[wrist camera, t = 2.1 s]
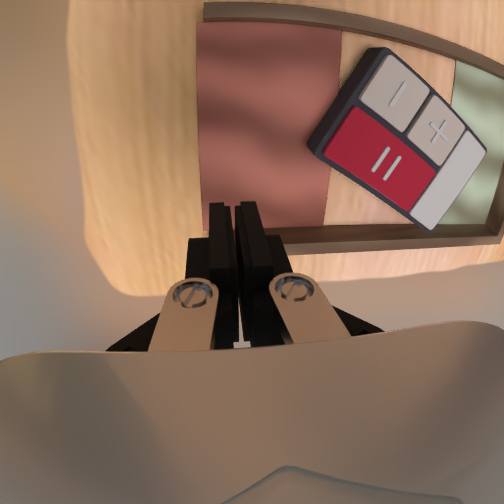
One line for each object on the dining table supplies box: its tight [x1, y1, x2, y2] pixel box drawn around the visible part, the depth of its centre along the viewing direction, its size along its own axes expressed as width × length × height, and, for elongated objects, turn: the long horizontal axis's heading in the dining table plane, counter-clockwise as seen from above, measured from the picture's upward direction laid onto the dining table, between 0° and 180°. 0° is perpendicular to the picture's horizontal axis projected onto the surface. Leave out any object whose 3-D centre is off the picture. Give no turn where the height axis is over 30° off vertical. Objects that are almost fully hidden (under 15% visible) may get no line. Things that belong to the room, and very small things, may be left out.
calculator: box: [307, 47, 487, 233], centre depth 25 cm, size 11×4×15 cm
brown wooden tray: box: [197, 2, 504, 255], centre depth 25 cm, size 21×36×3 cm, turn 89°
